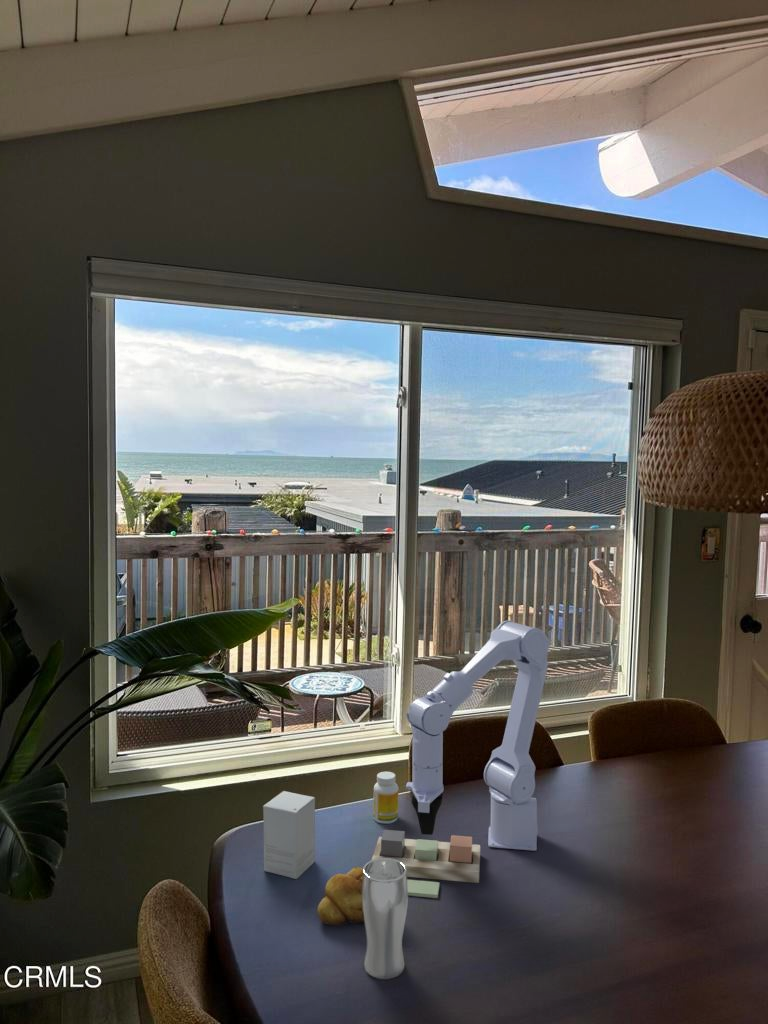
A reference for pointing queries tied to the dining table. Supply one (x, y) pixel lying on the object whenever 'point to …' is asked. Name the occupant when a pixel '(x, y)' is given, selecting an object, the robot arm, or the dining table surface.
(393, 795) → the supplement bottle
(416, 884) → the tile
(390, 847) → the key charcoal
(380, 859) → the beer glass
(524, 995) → the dining table surface
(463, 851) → the key terracotta
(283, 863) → the supplement box
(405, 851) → the key console
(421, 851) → the key sage
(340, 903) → the bread roll
